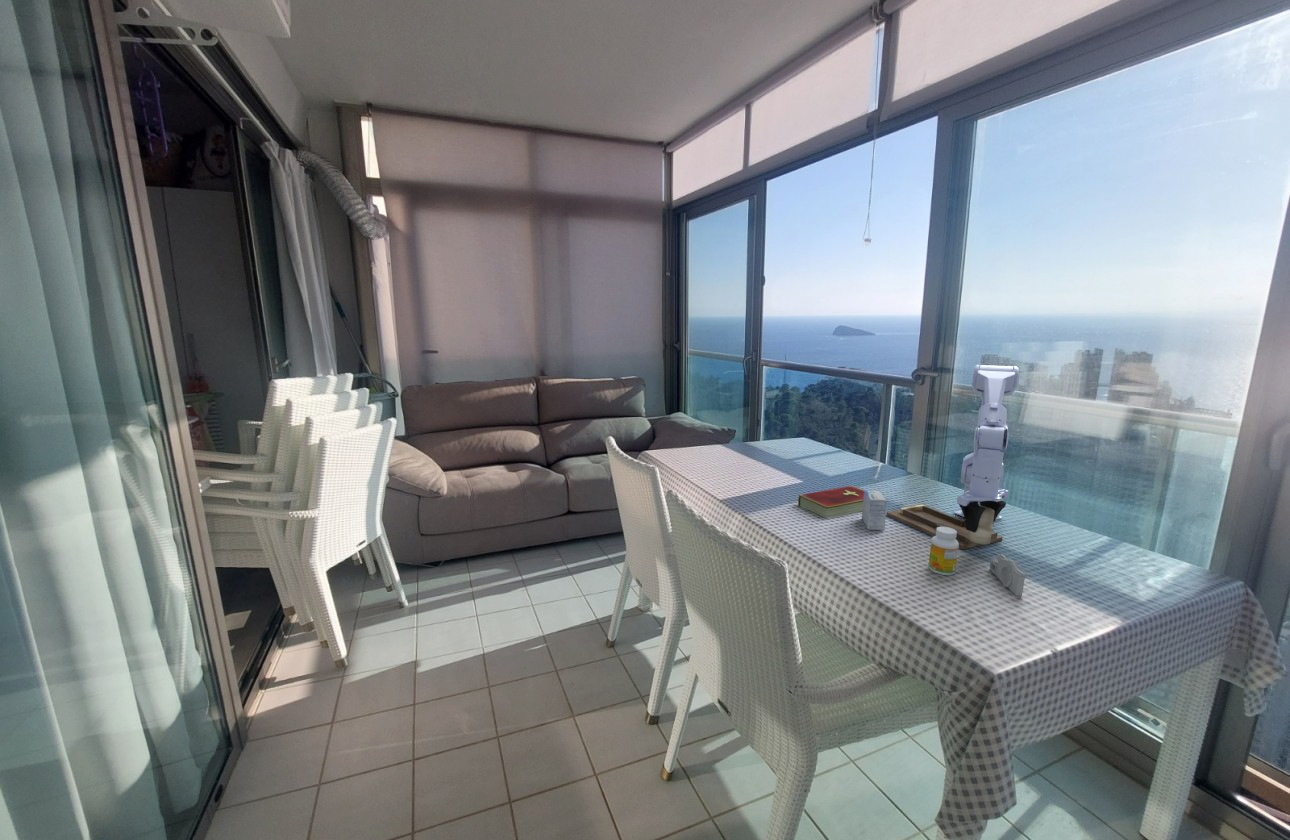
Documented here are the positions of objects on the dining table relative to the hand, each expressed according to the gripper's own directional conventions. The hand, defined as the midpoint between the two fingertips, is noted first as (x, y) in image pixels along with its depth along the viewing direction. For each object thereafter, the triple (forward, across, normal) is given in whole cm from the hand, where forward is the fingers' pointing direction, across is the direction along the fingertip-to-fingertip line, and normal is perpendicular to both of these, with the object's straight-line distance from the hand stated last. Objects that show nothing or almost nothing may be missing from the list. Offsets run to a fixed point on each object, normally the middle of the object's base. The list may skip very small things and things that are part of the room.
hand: (978, 529), depth 126 cm
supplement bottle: (+6, -16, -4) cm, 18 cm away
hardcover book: (+6, -10, +37) cm, 39 cm away
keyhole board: (+6, +5, +14) cm, 16 cm away
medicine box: (+6, -11, +22) cm, 25 cm away
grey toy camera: (+6, -8, -13) cm, 16 cm away
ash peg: (+3, 0, 0) cm, 3 cm away
